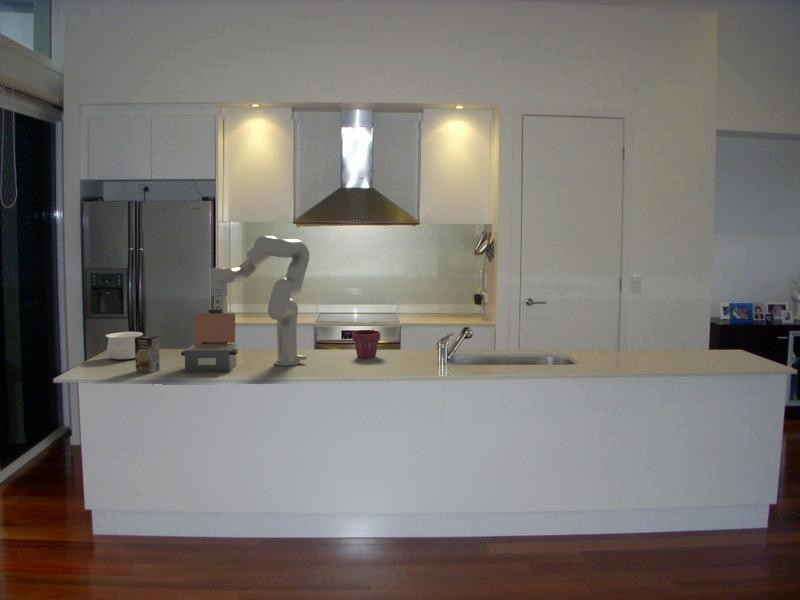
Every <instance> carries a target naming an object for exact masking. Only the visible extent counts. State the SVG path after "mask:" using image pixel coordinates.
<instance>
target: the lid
mask: <svg viewBox="0 0 800 600" xmlns="http://www.w3.org/2000/svg"><path fill="white" fill-rule="evenodd" d="M235 343H236V313H235V312H233V313H232V312H231V313H230V312H229V313H222V310H214V309H208V313H194V344H235Z"/></svg>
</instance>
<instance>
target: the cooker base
mask: <svg viewBox="0 0 800 600" xmlns="http://www.w3.org/2000/svg"><path fill="white" fill-rule="evenodd" d="M238 354H239V349H238V348H237V344H235V343H228V344H202V343H194V344H192V345H190V346H189V347H187V348H186V349H184V350H183V351H181V352H180V356H182V357H183V356H184V367H185V368H184V370H185V373H230V372H231V371H232V370H233V369H234V368H236V366H237V355H238Z"/></svg>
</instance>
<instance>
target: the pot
mask: <svg viewBox="0 0 800 600" xmlns="http://www.w3.org/2000/svg"><path fill="white" fill-rule="evenodd" d="M142 335H144V333H143V332H140V331H120V332H113V333H108V334H106V335H105V337H106V338H108V341H107V348H106V351H107V354H108V357H109V358H110V359H111V360H118V361H119V360H122V361H123V359H124V360H130V359H135V337H139V336H142Z"/></svg>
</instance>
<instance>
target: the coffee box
mask: <svg viewBox="0 0 800 600" xmlns="http://www.w3.org/2000/svg"><path fill="white" fill-rule="evenodd" d="M160 356H161V355H160V336H159V335H158V336H156V335H144V334H143V335H141V336H139V337H135V358H134V359H135V360H134V361H135V372H136V373H145V372H147V373H149V374H153V373H156V371H157V372H159V370H160V371H161V363H160V361H161V360H160V359H161V358H160ZM147 373H146V374H147Z"/></svg>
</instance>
